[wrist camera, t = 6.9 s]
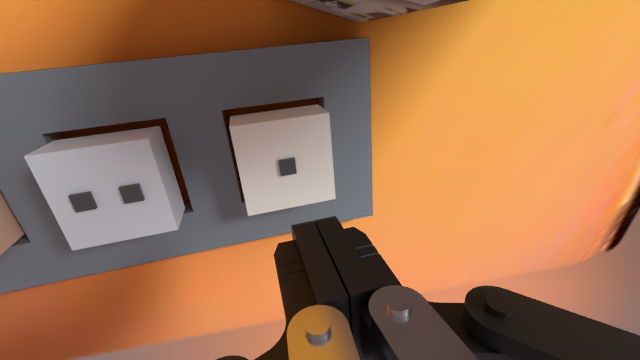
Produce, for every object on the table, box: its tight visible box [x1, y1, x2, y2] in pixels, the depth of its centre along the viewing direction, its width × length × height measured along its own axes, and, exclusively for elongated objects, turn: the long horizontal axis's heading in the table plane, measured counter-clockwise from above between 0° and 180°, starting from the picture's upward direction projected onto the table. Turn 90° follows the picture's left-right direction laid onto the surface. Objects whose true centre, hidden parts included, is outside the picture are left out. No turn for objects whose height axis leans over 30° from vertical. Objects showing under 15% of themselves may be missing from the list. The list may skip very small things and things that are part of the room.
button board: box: [0, 38, 373, 294], centre depth 18 cm, size 30×12×2 cm, turn 96°
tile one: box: [229, 104, 336, 216], centre depth 18 cm, size 5×5×3 cm
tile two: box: [24, 126, 185, 251], centre depth 17 cm, size 5×5×3 cm
